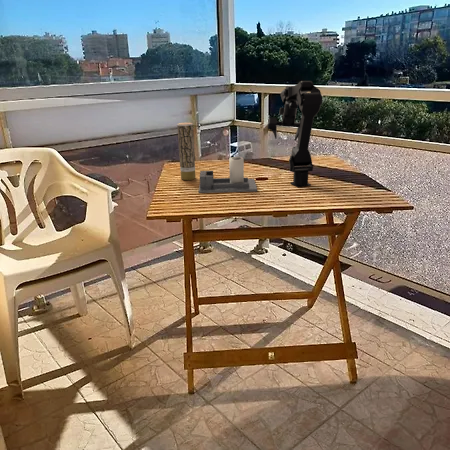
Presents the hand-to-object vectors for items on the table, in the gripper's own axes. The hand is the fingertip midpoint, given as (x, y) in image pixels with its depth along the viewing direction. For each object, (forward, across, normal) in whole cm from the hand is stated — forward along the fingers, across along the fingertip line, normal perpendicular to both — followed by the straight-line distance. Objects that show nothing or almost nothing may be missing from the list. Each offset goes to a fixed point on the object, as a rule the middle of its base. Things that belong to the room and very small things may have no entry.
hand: (285, 139), depth 193 cm
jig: (0, +25, +36) cm, 44 cm away
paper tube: (+7, +44, +26) cm, 51 cm away
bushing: (-1, +21, +35) cm, 41 cm away
